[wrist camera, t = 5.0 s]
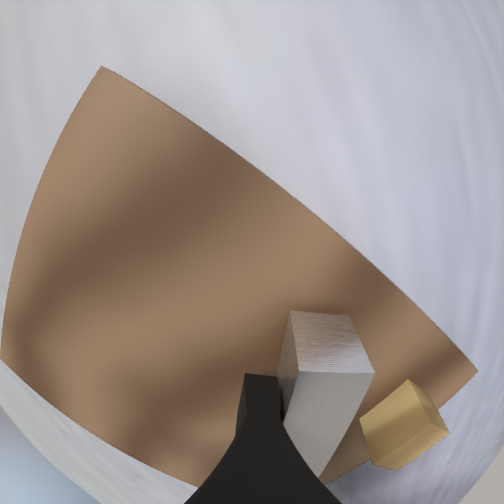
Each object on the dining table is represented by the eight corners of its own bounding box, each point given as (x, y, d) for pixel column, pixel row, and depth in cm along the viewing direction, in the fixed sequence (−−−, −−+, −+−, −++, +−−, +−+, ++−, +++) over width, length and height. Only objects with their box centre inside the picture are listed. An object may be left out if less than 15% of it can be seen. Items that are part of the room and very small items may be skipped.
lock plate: (469, 360, 12) (503, 404, 8) (269, 498, 16) (269, 538, 13) (114, 71, 8) (53, 44, 5) (8, 350, 13) (-25, 383, 9)
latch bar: (298, 473, 13) (302, 529, 9) (240, 470, 13) (235, 528, 9) (364, 316, 9) (405, 392, 6) (271, 308, 9) (275, 392, 6)
